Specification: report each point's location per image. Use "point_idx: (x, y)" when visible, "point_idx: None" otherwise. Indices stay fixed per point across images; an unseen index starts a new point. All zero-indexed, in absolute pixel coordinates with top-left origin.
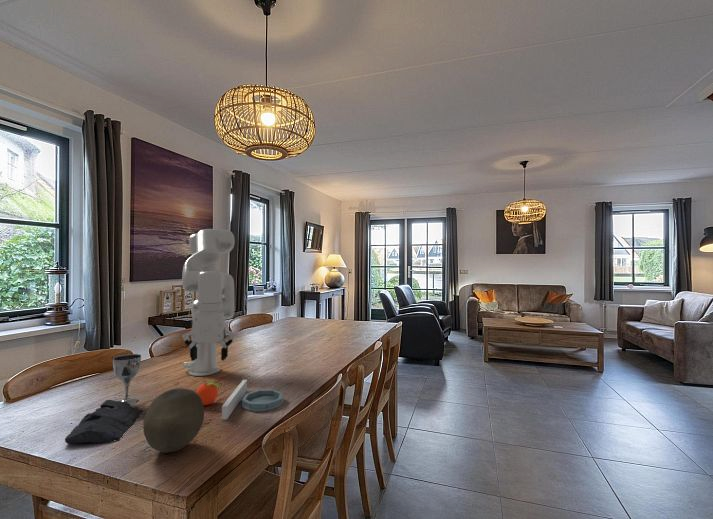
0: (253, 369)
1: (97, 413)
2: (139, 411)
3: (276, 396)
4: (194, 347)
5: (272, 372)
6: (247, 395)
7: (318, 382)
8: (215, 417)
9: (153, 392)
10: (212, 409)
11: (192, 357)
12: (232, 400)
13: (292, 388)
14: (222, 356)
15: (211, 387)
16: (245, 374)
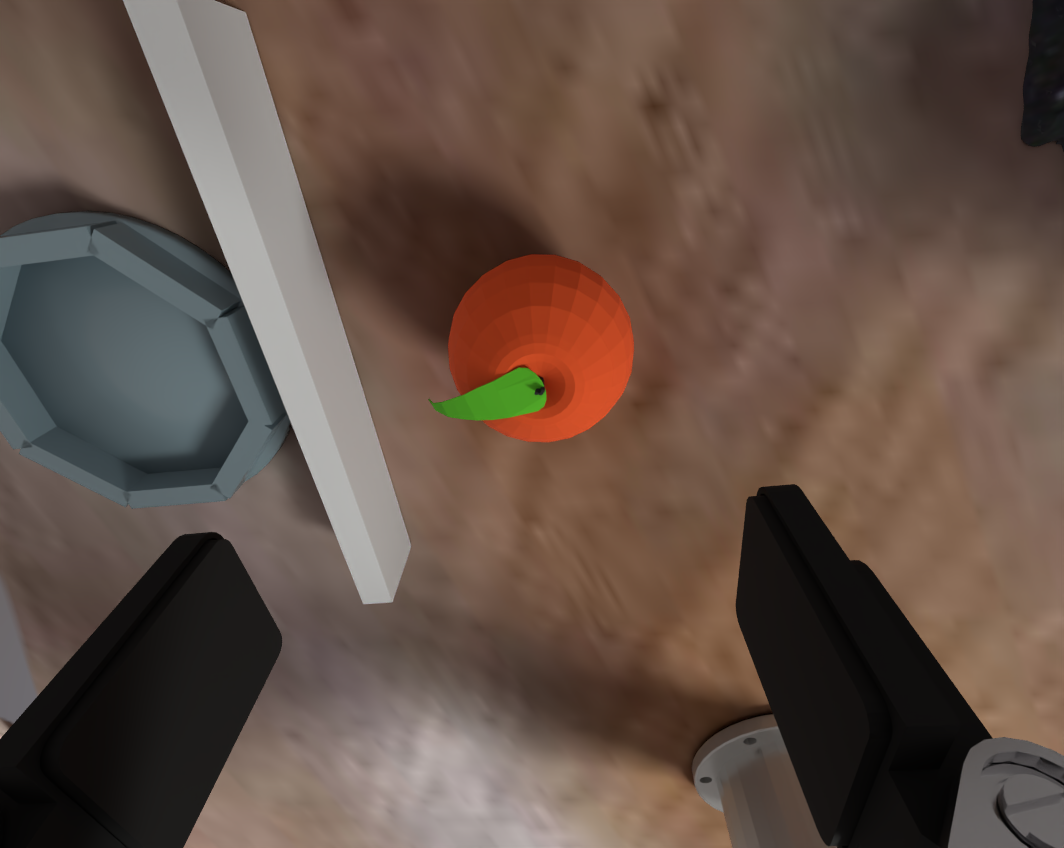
0: (513, 788)
1: None
2: (1060, 69)
3: (95, 448)
4: (886, 808)
5: (388, 761)
6: (240, 398)
7: (49, 664)
8: (330, 62)
9: (1020, 490)
10: (446, 229)
11: (793, 523)
12: (214, 208)
13: (131, 588)
14: (148, 582)
15: (474, 348)
16: (523, 737)
